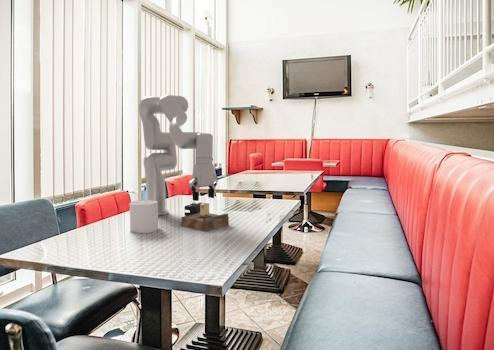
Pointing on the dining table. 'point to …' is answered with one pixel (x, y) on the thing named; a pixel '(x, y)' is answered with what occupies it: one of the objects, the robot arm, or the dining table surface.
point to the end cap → (192, 209)
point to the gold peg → (204, 210)
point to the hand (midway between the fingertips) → (203, 199)
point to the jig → (205, 221)
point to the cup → (143, 216)
